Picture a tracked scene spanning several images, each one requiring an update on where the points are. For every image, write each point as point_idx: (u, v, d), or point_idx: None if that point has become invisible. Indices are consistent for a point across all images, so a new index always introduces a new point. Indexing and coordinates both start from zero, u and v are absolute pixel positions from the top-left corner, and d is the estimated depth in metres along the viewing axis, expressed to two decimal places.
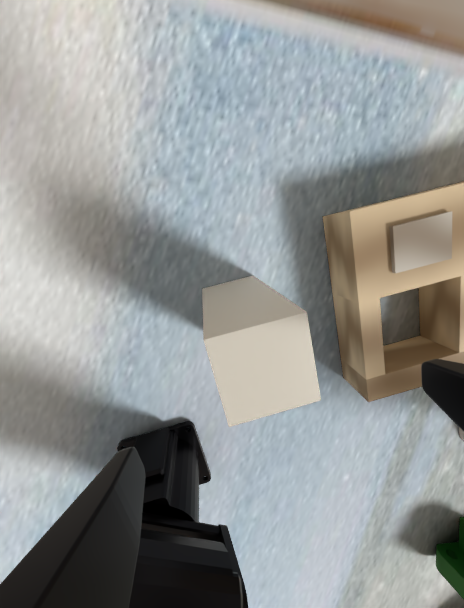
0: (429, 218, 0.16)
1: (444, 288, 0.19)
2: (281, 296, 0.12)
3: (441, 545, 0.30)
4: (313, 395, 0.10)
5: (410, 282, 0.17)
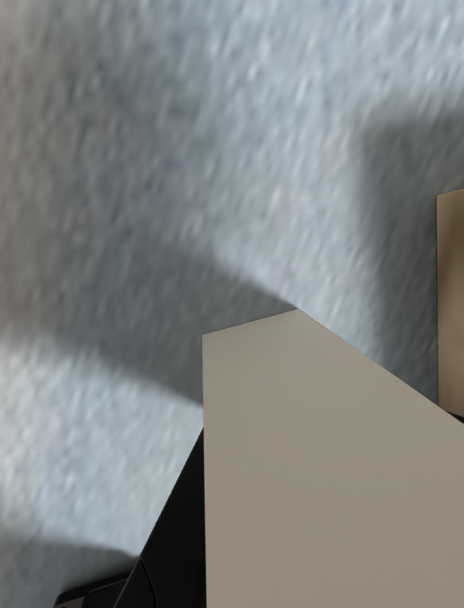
0: None
1: None
2: None
3: None
4: None
5: None
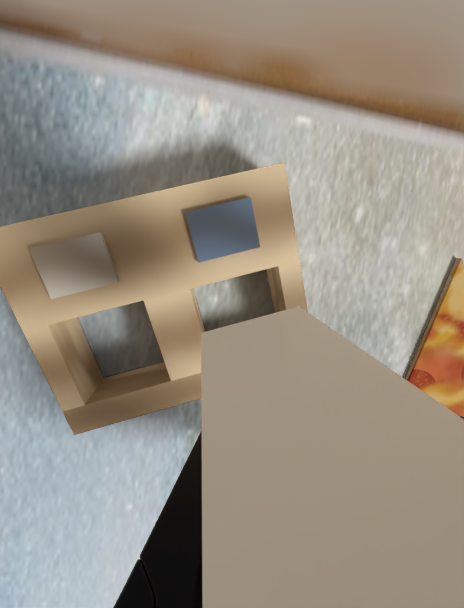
0: (72, 239, 0.14)
1: None
2: None
3: None
4: None
5: (81, 307, 0.15)
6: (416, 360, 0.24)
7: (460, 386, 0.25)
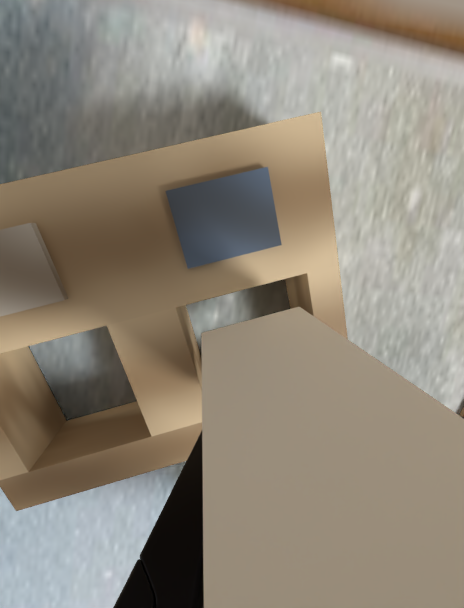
0: None
1: None
2: None
3: None
4: None
5: (11, 337, 0.10)
6: None
7: None
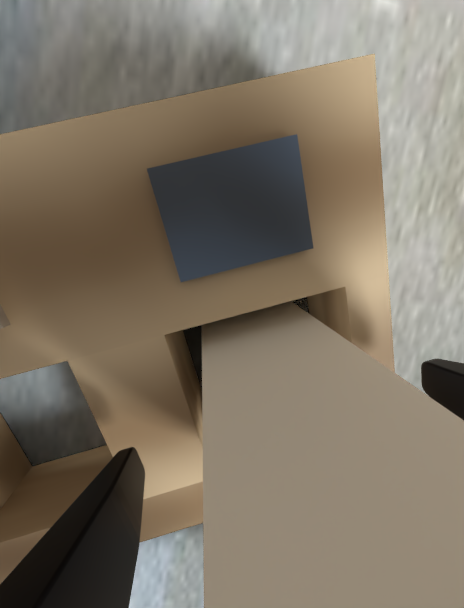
0: None
1: None
2: (402, 382, 0.05)
3: None
4: None
5: None
6: None
7: None
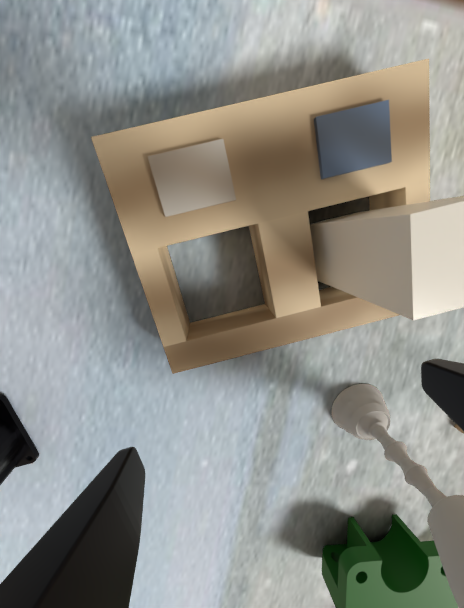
0: (193, 146, 0.13)
1: (258, 242, 0.16)
2: (444, 199, 0.11)
3: (330, 547, 0.28)
4: None
5: (192, 229, 0.14)
6: None
7: None
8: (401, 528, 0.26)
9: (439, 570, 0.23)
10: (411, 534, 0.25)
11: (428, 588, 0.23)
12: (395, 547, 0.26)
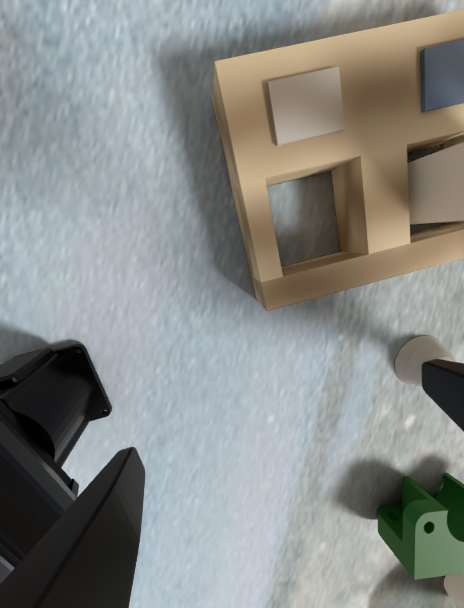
0: (311, 73, 0.13)
1: (350, 180, 0.16)
2: None
3: (384, 508, 0.28)
4: None
5: (300, 160, 0.15)
6: None
7: None
8: (455, 485, 0.27)
9: None
10: None
11: None
12: (450, 503, 0.27)
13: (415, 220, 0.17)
